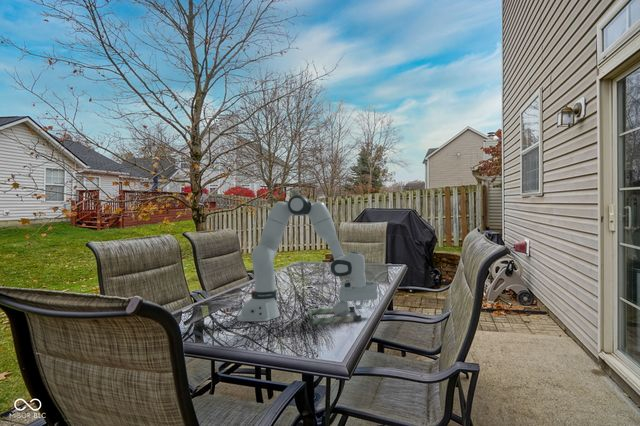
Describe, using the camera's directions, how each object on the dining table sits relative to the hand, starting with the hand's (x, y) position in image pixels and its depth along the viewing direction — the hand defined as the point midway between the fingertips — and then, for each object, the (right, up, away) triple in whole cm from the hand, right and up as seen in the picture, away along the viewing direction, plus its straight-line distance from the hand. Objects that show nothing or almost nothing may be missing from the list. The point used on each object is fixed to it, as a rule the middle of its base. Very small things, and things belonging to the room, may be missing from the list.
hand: (358, 308), depth 183 cm
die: (-9, -4, -1) cm, 10 cm away
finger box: (-13, -4, -1) cm, 14 cm away
